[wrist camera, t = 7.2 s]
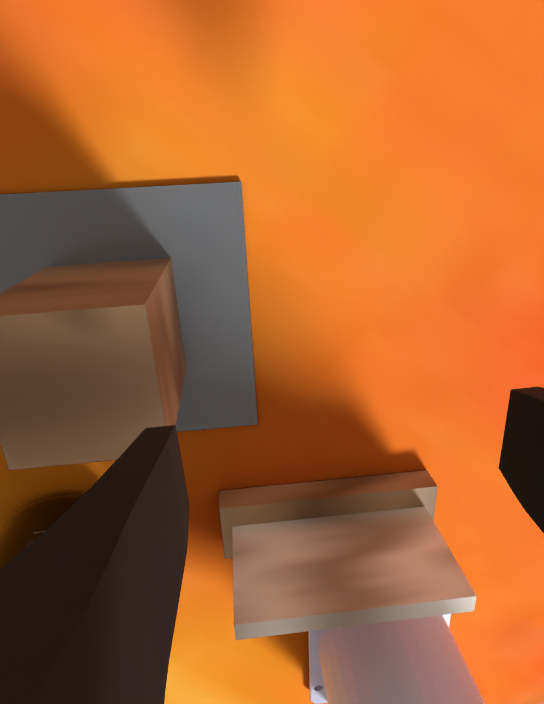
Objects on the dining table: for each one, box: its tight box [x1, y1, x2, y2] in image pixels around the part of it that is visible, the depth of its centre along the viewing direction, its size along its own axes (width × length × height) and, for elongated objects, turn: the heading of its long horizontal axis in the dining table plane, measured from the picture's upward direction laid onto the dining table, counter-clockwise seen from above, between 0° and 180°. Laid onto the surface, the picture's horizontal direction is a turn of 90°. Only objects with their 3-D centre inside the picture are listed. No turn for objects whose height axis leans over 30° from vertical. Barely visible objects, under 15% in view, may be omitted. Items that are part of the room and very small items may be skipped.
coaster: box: [0, 182, 258, 432], centre depth 18 cm, size 10×10×1 cm
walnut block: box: [0, 258, 186, 470], centre depth 15 cm, size 4×4×6 cm
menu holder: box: [219, 470, 476, 640], centre depth 20 cm, size 10×3×6 cm, turn 92°
